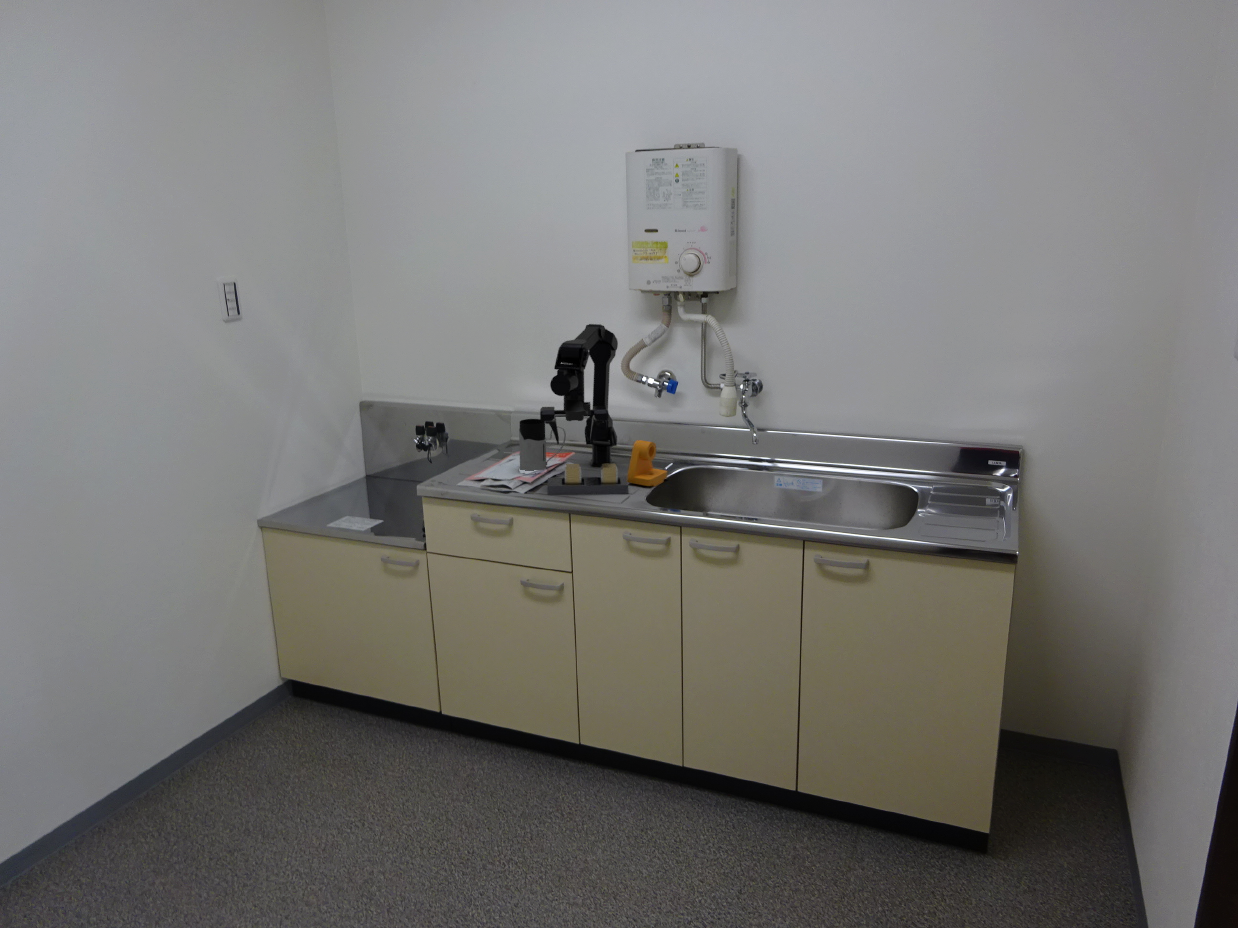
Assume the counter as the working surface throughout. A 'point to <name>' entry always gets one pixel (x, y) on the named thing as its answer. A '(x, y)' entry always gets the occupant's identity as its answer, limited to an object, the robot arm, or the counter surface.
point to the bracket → (644, 465)
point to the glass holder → (534, 444)
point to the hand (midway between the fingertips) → (574, 443)
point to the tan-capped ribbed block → (609, 474)
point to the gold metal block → (572, 474)
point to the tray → (586, 486)
